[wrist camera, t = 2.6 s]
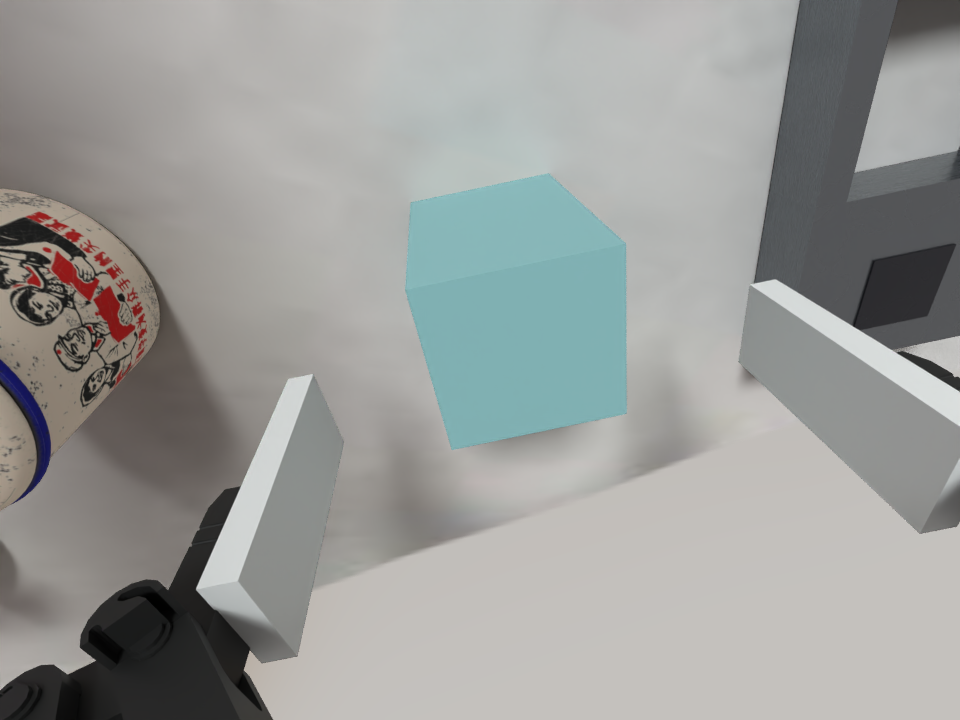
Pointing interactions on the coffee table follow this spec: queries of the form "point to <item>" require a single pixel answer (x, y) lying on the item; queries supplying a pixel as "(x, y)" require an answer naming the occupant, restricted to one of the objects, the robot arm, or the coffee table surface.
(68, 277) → the teacup with lid
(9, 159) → the coffee table surface
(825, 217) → the grey flat slotted block
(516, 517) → the coffee table surface
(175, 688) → the robot arm
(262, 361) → the coffee table surface
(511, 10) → the coffee table surface
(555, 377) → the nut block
